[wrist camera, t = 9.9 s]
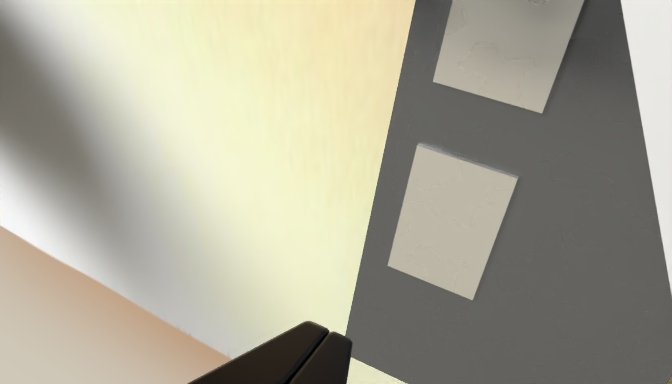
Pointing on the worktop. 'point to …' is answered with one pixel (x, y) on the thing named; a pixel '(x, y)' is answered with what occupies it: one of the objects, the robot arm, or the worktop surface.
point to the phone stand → (515, 205)
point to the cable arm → (654, 99)
